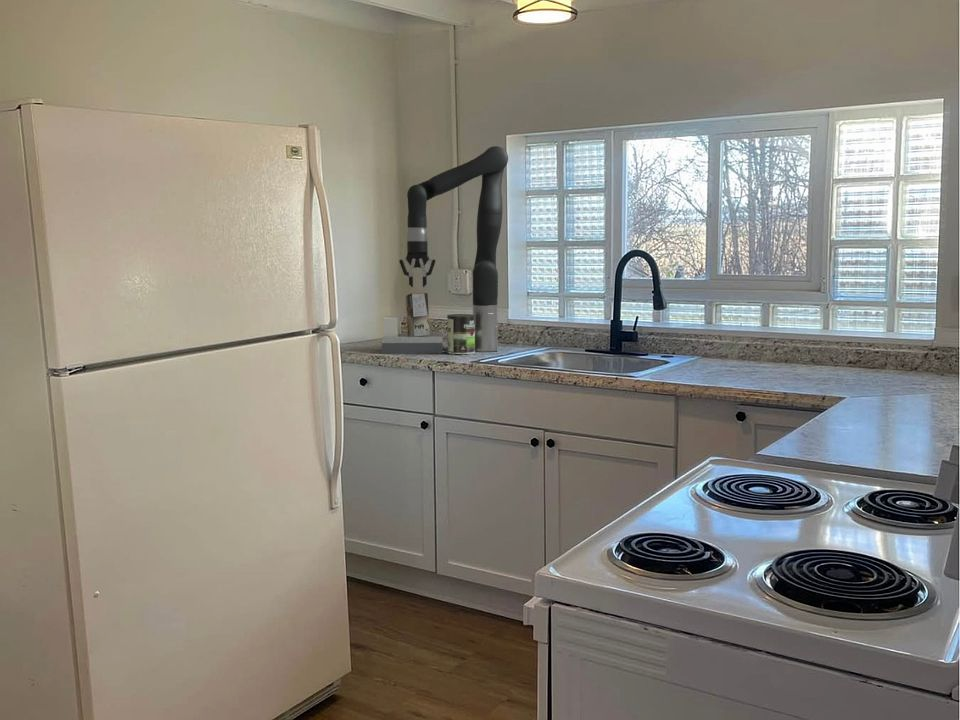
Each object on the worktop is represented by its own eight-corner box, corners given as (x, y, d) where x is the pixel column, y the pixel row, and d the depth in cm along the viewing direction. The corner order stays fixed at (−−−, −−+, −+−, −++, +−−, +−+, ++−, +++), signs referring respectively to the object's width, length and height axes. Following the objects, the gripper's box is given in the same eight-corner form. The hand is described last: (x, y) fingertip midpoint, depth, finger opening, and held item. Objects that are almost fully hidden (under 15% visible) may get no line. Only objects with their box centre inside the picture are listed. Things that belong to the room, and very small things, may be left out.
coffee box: (430, 335, 334) (428, 292, 335) (414, 336, 332) (411, 292, 332) (423, 337, 343) (421, 295, 343) (407, 337, 341) (404, 295, 341)
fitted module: (398, 337, 342) (398, 316, 341) (397, 340, 333) (397, 318, 332) (385, 337, 342) (385, 316, 341) (383, 340, 333) (383, 318, 332)
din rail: (442, 338, 345) (442, 333, 344) (442, 342, 332) (442, 336, 331) (384, 339, 344) (384, 333, 344) (382, 343, 331) (381, 337, 331)
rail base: (442, 349, 346) (442, 338, 345) (442, 353, 332) (442, 342, 331) (384, 349, 345) (384, 338, 344) (382, 354, 331) (381, 343, 331)
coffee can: (480, 352, 335) (480, 314, 333) (463, 355, 327) (463, 316, 325) (459, 350, 341) (458, 313, 339) (441, 353, 333) (441, 315, 331)
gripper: (436, 240, 337) (437, 286, 339) (398, 240, 336) (399, 286, 339) (436, 240, 329) (436, 287, 332) (397, 240, 329) (397, 287, 331)
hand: (417, 286), depth 335 cm, fingers open, 3 cm apart
